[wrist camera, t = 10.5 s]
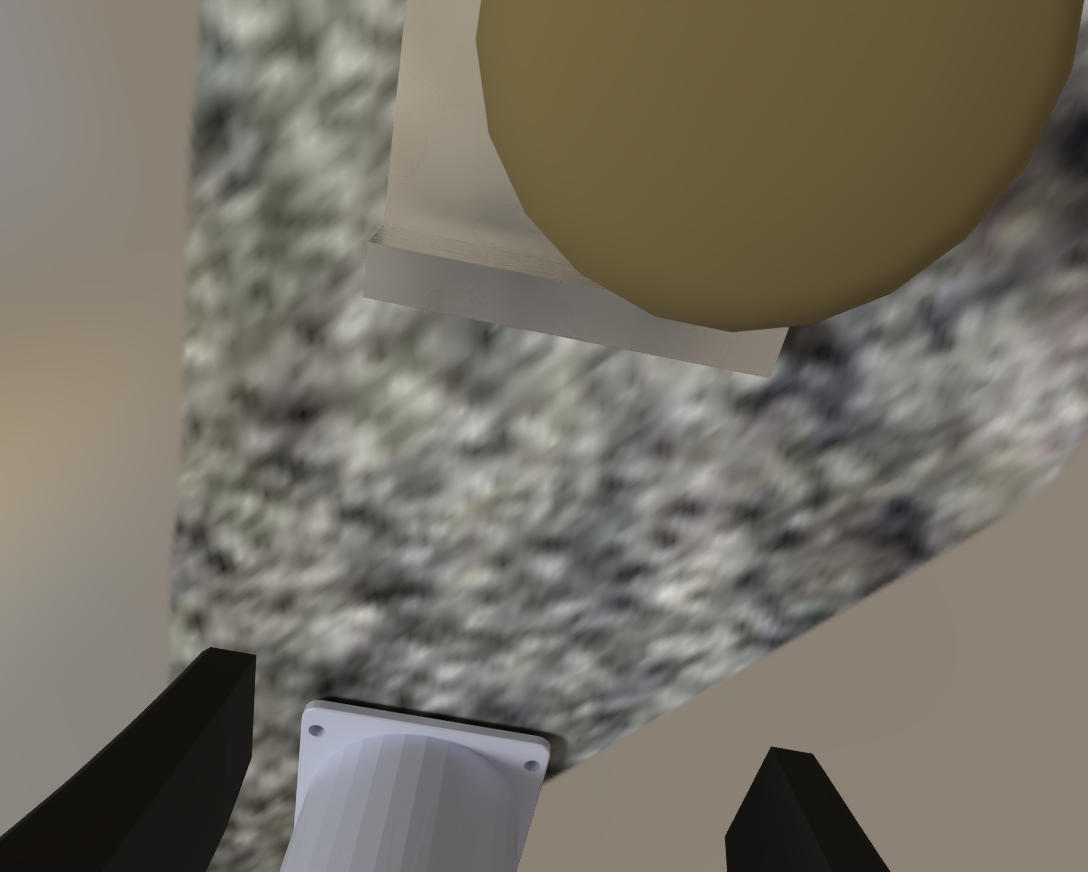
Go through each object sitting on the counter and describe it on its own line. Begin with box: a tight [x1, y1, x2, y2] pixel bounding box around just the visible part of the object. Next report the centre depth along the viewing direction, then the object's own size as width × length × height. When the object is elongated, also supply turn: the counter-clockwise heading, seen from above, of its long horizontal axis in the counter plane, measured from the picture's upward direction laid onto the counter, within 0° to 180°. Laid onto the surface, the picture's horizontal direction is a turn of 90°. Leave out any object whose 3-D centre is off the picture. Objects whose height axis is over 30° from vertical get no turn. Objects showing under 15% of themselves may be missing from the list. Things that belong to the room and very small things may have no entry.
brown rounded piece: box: [476, 0, 1084, 332], centre depth 11 cm, size 6×6×11 cm
